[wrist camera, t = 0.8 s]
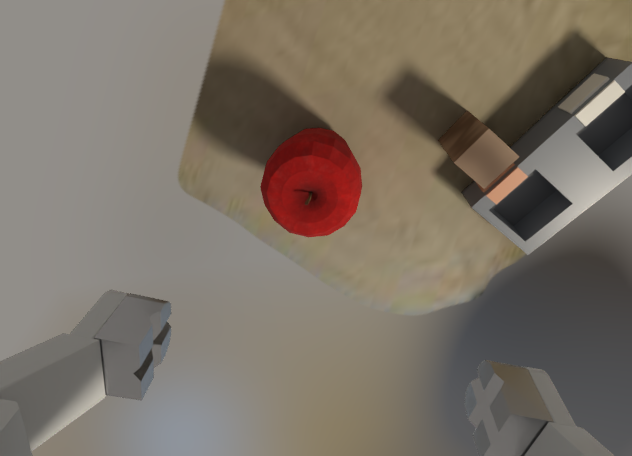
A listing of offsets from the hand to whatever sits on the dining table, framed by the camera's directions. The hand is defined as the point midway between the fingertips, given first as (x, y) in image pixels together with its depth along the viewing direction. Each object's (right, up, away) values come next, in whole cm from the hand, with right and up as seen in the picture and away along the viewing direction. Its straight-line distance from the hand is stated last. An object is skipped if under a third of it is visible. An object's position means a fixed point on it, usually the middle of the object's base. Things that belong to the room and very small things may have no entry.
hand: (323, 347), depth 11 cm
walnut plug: (+17, +14, +37) cm, 43 cm away
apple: (0, +12, +40) cm, 41 cm away
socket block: (+28, +11, +38) cm, 48 cm away
